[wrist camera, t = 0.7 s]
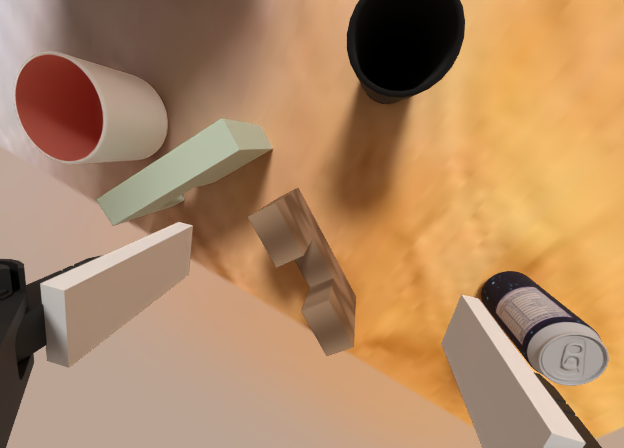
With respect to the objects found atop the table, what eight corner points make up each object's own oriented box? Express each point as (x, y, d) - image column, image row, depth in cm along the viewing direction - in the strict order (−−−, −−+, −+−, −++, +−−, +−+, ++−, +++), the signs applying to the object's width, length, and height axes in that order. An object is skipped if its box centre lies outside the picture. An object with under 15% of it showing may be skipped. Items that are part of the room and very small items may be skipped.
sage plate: (173, 206, 39) (112, 225, 30) (161, 186, 39) (95, 199, 29) (273, 148, 35) (239, 149, 26) (260, 125, 35) (222, 117, 25)
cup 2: (390, 129, 32) (405, 120, 21) (337, 83, 32) (324, 49, 21) (443, 67, 30) (492, 19, 19) (386, 18, 30) (401, -62, 18)
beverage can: (475, 309, 36) (527, 385, 25) (482, 266, 35) (540, 326, 23) (526, 313, 35) (604, 394, 24) (535, 269, 34) (623, 333, 22)
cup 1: (133, 173, 39) (59, 182, 30) (87, 105, 38) (-6, 92, 28) (188, 133, 36) (126, 129, 27) (141, 58, 35) (58, 25, 26)
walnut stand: (277, 198, 37) (247, 217, 27) (298, 187, 36) (275, 203, 26) (335, 304, 39) (326, 356, 30) (356, 296, 38) (353, 346, 29)
